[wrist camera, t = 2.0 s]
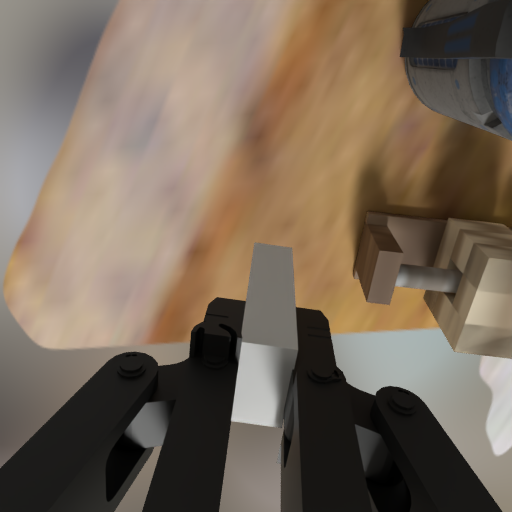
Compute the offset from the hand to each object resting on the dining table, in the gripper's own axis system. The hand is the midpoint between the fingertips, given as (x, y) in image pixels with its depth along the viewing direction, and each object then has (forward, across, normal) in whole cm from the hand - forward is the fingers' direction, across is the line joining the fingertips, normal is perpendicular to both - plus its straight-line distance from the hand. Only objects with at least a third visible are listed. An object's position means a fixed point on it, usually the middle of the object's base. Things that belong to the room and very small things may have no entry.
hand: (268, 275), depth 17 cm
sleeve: (+23, +19, -7) cm, 31 cm away
